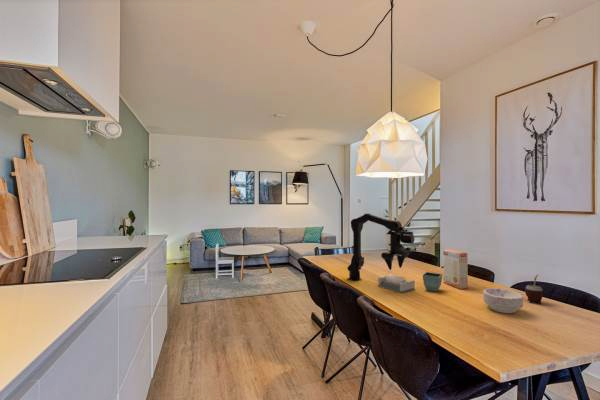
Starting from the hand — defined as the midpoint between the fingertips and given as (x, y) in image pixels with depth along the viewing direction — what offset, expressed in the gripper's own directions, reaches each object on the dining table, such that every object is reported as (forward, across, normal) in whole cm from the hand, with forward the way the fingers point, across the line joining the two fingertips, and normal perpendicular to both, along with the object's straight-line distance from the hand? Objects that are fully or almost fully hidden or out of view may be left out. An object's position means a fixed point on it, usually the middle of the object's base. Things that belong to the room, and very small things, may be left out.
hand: (395, 268), depth 174 cm
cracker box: (+11, +32, -19) cm, 38 cm away
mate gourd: (+11, +35, -57) cm, 67 cm away
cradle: (+11, 0, -1) cm, 11 cm away
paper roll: (+7, 0, -1) cm, 7 cm away
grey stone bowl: (+11, +11, -52) cm, 54 cm away
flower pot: (+11, +13, -16) cm, 23 cm away
